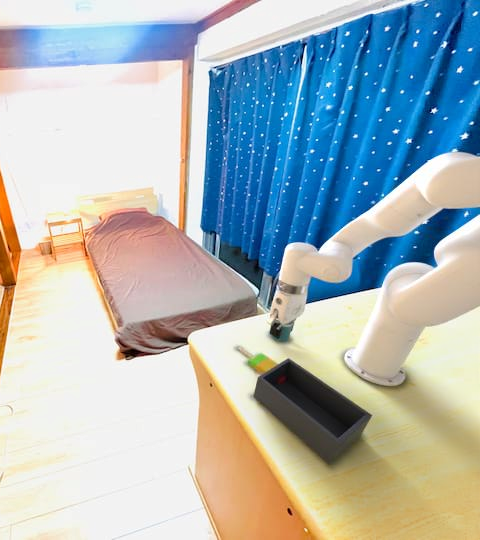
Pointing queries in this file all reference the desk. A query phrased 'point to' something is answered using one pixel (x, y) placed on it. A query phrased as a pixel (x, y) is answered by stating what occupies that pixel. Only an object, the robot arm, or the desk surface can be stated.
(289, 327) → the paper cup
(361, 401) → the desk surface
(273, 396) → the bin
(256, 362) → the popsicle
